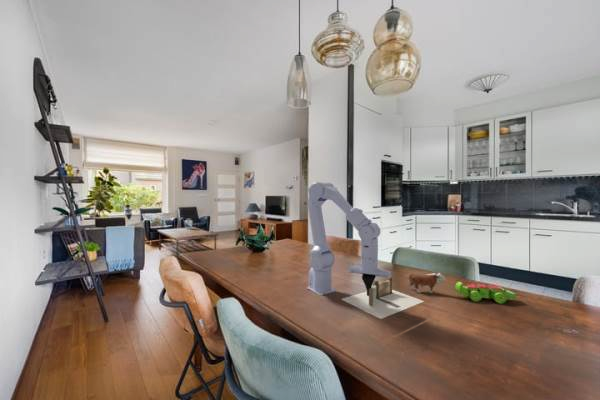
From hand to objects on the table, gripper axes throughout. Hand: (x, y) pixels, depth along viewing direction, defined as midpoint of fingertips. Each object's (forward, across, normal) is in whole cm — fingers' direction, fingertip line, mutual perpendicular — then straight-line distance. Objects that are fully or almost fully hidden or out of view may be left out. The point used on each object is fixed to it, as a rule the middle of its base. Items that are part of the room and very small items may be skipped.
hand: (368, 295), depth 90 cm
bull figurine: (+3, -19, -21) cm, 28 cm away
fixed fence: (+3, -4, -9) cm, 10 cm away
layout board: (+3, -4, -4) cm, 7 cm away
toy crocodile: (+3, -38, -23) cm, 45 cm away
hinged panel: (+2, -1, -1) cm, 3 cm away
